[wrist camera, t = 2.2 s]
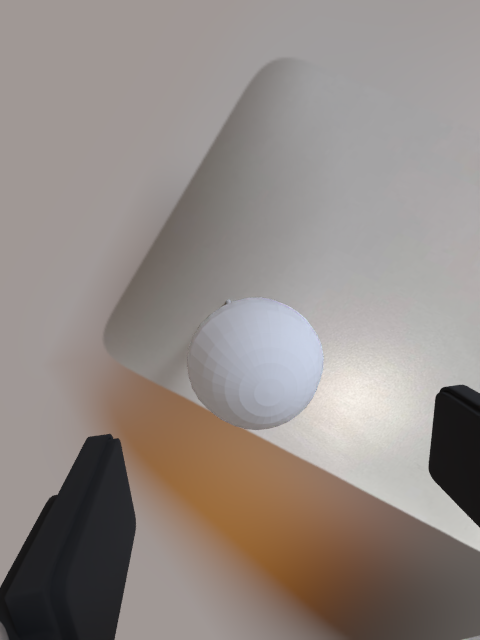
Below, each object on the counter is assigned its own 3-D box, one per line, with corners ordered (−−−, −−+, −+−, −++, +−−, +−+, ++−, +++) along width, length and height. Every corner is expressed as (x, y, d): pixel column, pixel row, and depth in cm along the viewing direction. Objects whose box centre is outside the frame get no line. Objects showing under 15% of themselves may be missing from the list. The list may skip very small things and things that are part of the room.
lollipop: (275, 277, 26) (371, 338, 12) (254, 344, 28) (319, 470, 13) (200, 257, 25) (208, 297, 11) (182, 327, 26) (168, 448, 12)
